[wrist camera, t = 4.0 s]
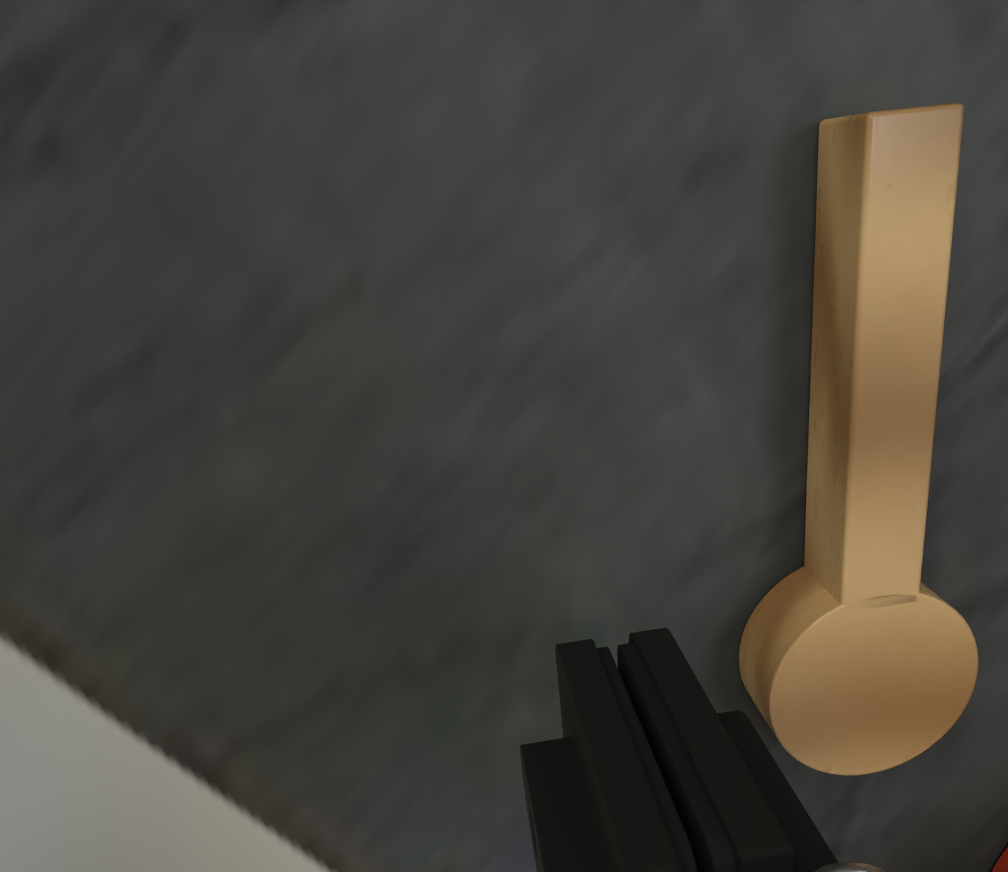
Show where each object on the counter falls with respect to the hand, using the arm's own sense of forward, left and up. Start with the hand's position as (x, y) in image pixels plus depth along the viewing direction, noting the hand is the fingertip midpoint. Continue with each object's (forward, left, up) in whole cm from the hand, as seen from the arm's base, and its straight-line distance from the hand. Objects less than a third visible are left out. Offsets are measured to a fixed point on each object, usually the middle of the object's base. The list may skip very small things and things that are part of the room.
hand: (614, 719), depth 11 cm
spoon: (-1, +6, -5) cm, 7 cm away
